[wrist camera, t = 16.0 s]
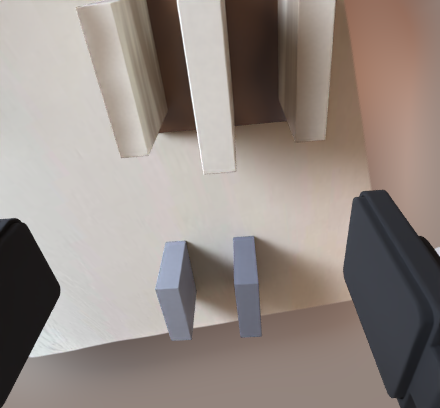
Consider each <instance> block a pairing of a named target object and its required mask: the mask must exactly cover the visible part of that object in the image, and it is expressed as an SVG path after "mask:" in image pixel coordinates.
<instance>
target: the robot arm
mask: <svg viewBox="0 0 440 408" xmlns="http://www.w3.org/2000/svg"><path fill="white" fill-rule="evenodd" d="M343 273H344V279H345V282H346V284H347V287H348V290H349V292H350V295H351V298H352V300H353V303H354V305H355V308H356V311H357V314H358V316H359V319H360V321H361V324H362V327H363V330H364V332H365V335H366V338H367V340H368V343H369V345H370V348H371V351H372V353H373V356H374V359H375V361H376V364H377V367H378V369H379V372H380V375H381V377H382V380H383V383H384V385H385V388H386V390H387V393H388V394H389V396H390V397H391V398H397V400H398V402H399V405H400V407H401V408H440V256H439V255H438V254H437V252H436V251H435V250H434V248H433V247H432V246H431V244H430V243H429V242H428V241H427V240H426V239H425V238H424V237H422V236H418V235H417V233H416V232H415V231H414V229H413V228H412V226H411V225H410V224H409V222H408V221H407V219H406V218H405V217H404V215H403V214H402V212H401V211H400V210H399V208H398V207H397V205H396V204H395V203H394V201H393V200H392V198H391V197H390V196H389V194H388V193H387V192H386V191H385V190H374V191H362V192H361V194H360V196H359V197H355V198H354V199H353V203H352V210H351V217H350V224H349V231H348V238H347V245H346V253H345V260H344V267H343ZM59 296H60V285H59V283H58V281H57V279H56V278H55V276H54V274H53V272H52V270H51V268H50V267H49V265H48V263H47V261H46V259H45V257H44V256H43V254H42V252H41V250H40V248H39V246H38V245H37V243H36V241H35V239H34V237H33V235H32V234H31V232H30V230H29V228H28V226H27V225H26V224H25V223H22V222H21V221H20V220H19V219H16V218H11V219H0V408H1V407H2V406H3V404H4V403H5V401H6V399H7V397H8V395H9V394H10V392H11V390H12V388H13V386H14V384H15V382H16V380H17V378H18V376H19V374H20V372H21V370H22V368H23V366H24V364H25V362H26V360H27V359H28V357H29V355H30V353H31V351H32V349H33V347H34V345H35V343H36V341H37V339H38V337H39V335H40V333H41V331H42V329H43V327H44V326H45V324H46V322H47V320H48V318H49V316H50V314H51V312H52V310H53V308H54V306H55V304H56V302H57V300H58V298H59Z"/></svg>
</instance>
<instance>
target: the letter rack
mask: <svg viewBox="0 0 440 408" xmlns="http://www.w3.org/2000/svg"><path fill="white" fill-rule="evenodd" d="M335 7H336V0H225V8H226V20H227V32H228V43H229V55H230V67H231V79H232V91H233V103H234V125H235V126H239V125H249V124H260V123H271V122H281V121H287V122H288V125H289V127H290V130H291V132H292V135H293V137H294V140H295V142H307V141H319V140H325V139H326V126H327V113H328V100H329V87H330V73H331V60H332V47H333V34H334V21H335ZM76 11H77V14H78V18H79V21H80V24H81V28H82V31H83V34H84V37H85V41H86V44H87V47H88V51H89V54H90V57H91V61H92V64H93V67H94V70H95V74H96V77H97V80H98V84H99V87H100V90H101V94H102V97H103V100H104V104H105V107H106V110H107V113H108V117H109V120H110V123H111V127H112V130H113V133H114V137H115V140H116V143H117V146H118V150H119V153H120V156H121V158H128V157H139V156H149V154H150V151H151V149H152V147H153V144H154V142H155V140H156V137H157V135H158V133H164V132H175V131H186V130H196V123H195V116H194V110H193V103H192V97H191V90H190V84H189V77H188V71H187V64H186V58H185V51H184V45H183V38H182V32H181V25H180V19H179V12H178V6H177V0H103V1H99V2H95V3H91V4H87V5H83V6H79V7H76Z"/></svg>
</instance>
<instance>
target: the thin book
mask: <svg viewBox="0 0 440 408" xmlns="http://www.w3.org/2000/svg"><path fill="white" fill-rule="evenodd" d="M177 6H178V12H179V19H180V25H181V32H182V38H183V45H184V51H185V58H186V64H187V71H188V77H189V84H190V90H191V97H192V103H193V110H194V116H195V123H196V129H197V136H198V142H199V149H200V155H201V162H202V168H203V174H215V173H227V172H236V149H235V125H234V103H233V91H232V79H231V67H230V55H229V43H228V32H227V20H226V8H225V0H177Z"/></svg>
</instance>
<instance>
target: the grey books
mask: <svg viewBox="0 0 440 408" xmlns="http://www.w3.org/2000/svg"><path fill="white" fill-rule="evenodd" d="M233 247H234V286H235V295H236V303H237V311H238V320H239V328H240V336H241V337H261V336H262V332H261V315H260V298H259V282H258V272H257V262H256V252H255V242H254V236H249V237H234V238H233ZM155 290H156V293H157V297H158V300H159V303H160V306H161V309H162V312H163V315H164V319H165V322H166V325H167V328H168V331H169V334H170V337H171V340H172V341H175V340H192V332H193V322H194V311H195V301H196V287H195V282H194V277H193V273H192V268H191V263H190V259H189V254H188V249H187V245H186V241H177V242H166V244H165V248H164V253H163V257H162V262H161V266H160V270H159V275H158V279H157V284H156V288H155Z"/></svg>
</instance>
